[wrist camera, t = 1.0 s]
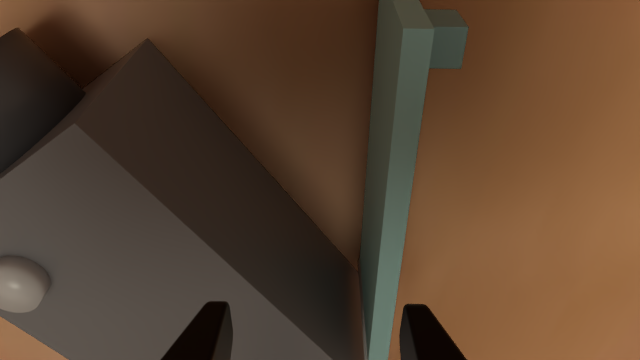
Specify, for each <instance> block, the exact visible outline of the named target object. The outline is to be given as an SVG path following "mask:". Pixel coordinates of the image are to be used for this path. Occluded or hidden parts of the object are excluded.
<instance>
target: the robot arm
mask: <svg viewBox="0 0 640 360" xmlns="http://www.w3.org/2000/svg"><path fill="white" fill-rule="evenodd" d="M232 343H233V326H232V319H231V312H230V306H229V304H228V302H225V301H209V302H207V303H205V304H204V306H203V307H202V308H201V309H200V311H199V312H198V313H197V314H196V316H195V317H194V318H193V319H192V321H191V322H190V323H189V324H188V326H187V327H186V328H185V329H184V331H183V332H182V333H181V334H180V336H179V337H178V338H177V339H176V341H175V342H174V343H173V344H172V346H171V347H170V348H169V349H168V351H167V352H166V353H165V355H164V356H163V357H162V358H161V360H231V351H232ZM400 353H401V360H467V359H466V358H465V357H464V355H463V354H462V352H461V351H460V350H459V348H458V347H457V346H456V344H455V343H454V342H453V340H452V339H451V337H450V336H449V335H448V333H447V332H446V331H445V329H444V328H443V327H442V325H441V324H440V323H439V321H438V320H437V318H436V317H435V316H434V314H433V313H432V312H431V310H430V309H429V308H428V307H427V306H426V305H424V304H406V305H405V306H404V308H403V314H402V321H401V327H400Z"/></svg>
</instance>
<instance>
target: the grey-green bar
mask: <svg viewBox="0 0 640 360" xmlns="http://www.w3.org/2000/svg"><path fill="white" fill-rule="evenodd" d="M468 28H469V27H468V25H467V24H466V23H465V21H464V20H463V19H462V17H461V16H460V14H459V13H458V12H457V10H436V9H423V7H422V5H421V3H420V1H419V0H379V6H378V20H377V33H376V47H375V60H374V73H373V87H372V100H371V114H370V127H369V141H368V154H367V168H366V181H365V194H364V208H363V221H362V235H361V248H360V258H359V259H358V275H359V289H360V303H361V317H362V331H363V345H364V359H365V360H388V354H389V347H390V340H391V333H392V326H393V318H394V311H395V304H396V297H397V290H398V283H399V276H400V269H401V262H402V255H403V248H404V241H405V234H406V227H407V220H408V213H409V205H410V198H411V191H412V184H413V177H414V170H415V163H416V156H417V149H418V142H419V135H420V128H421V121H422V114H423V107H424V100H425V92H426V85H427V78H428V71H429V68H443V69H461V67H462V61H463V55H464V50H465V44H466V39H467V33H468Z"/></svg>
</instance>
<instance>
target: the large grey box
mask: <svg viewBox="0 0 640 360" xmlns="http://www.w3.org/2000/svg"><path fill="white" fill-rule="evenodd" d="M209 301H225V302H228V304H229V306H230V312H231V319H232V326H233V343H232V351H231V360H365V359H364V345H363V331H362V317H361V303H360V289H359V275H358V272H357V271H356V270H355V268H354V267H353V266H352V265H351V264H350V263H349V262H348V261H347V260H346V258H345V257H344V256H343V255H342V254H341V253H340V252H339V251H338V250H337V248H336V247H335V246H334V245H333V244H332V243H331V242H330V241H329V240H328V238H327V237H326V236H325V235H324V234H323V233H322V232H321V231H320V230H319V228H318V227H317V226H316V225H315V224H314V223H313V222H312V221H311V220H310V218H309V217H308V216H307V215H306V214H305V213H304V212H303V211H302V210H301V208H300V207H299V206H298V205H297V204H296V203H295V202H294V201H293V200H292V198H291V197H290V196H289V195H288V194H287V193H286V192H285V191H284V190H283V188H282V187H281V186H280V185H279V184H278V183H277V182H276V181H275V180H274V178H273V177H272V176H271V175H270V174H269V173H268V172H267V171H266V170H265V168H264V167H263V166H262V165H261V164H260V163H259V162H258V161H257V160H256V158H255V157H254V156H253V155H252V154H251V153H250V152H249V151H248V149H247V148H246V147H245V146H244V145H243V144H242V143H241V142H240V141H239V139H238V138H237V137H236V136H235V135H234V134H233V133H232V132H231V131H230V129H229V128H228V127H227V126H226V125H225V124H224V123H223V122H222V121H221V119H220V118H219V117H218V116H217V115H216V114H215V113H214V112H213V111H212V109H211V108H210V107H209V106H208V105H207V104H206V103H205V102H204V101H203V99H202V98H201V97H200V96H199V95H198V94H197V93H196V92H195V91H194V89H193V88H192V87H191V86H190V85H189V84H188V83H187V82H186V81H185V79H184V78H183V77H182V76H181V75H180V74H179V73H178V72H177V71H176V69H175V68H174V67H173V66H172V65H171V64H170V63H169V62H168V61H167V59H166V58H165V57H164V56H163V55H162V54H161V53H160V52H159V51H158V49H157V48H156V47H155V46H154V45H153V44H152V43H151V42H150V41H149V39H148V38H147V39H146V40H145V41H143V42H142V43H141V44H139V45H138V46H137V47H136V48H134V49H133V50H132V51H131V52H129V53H128V54H127V55H125V56H124V57H123V58H122V59H120V60H119V61H118V62H116V63H115V64H114V65H113V66H111V67H110V68H109V69H107V70H106V71H105V72H104V73H102V74H101V75H100V76H99V77H97V78H96V79H95V80H93V81H92V82H91V83H90V84H88V85H87V86H86V87H84V88H83V89H81V88H80V87H79V86H78V85H77V84H76V83H75V82H74V81H73V80H72V79H71V78H70V77H69V76H68V75H67V74H66V73H65V72H64V71H63V70H62V69H61V68H60V67H59V66H58V65H57V64H55V63H54V62H53V61H52V60H51V59H50V58H49V57H48V56H47V55H46V54H45V53H44V52H43V51H42V50H41V49H40V48H39V47H38V46H37V45H36V44H35V43H34V42H33V41H32V40H31V39H30V38H29V37H27V36H26V35H25V34H24V33H23V32H22V31H21V30H20V29H19V28H15V29H13V30H11V31H10V32H8V33H6V34H5V35H3V36H2V37H0V316H1V317H2V318H4V319H6V320H7V321H9V322H10V323H12V324H14V325H15V326H17V327H18V328H20V329H21V330H23V331H25V332H26V333H28V334H29V335H31V336H32V337H34V338H36V339H37V340H39V341H40V342H42V343H44V344H45V345H47V346H48V347H50V348H51V349H53V350H55V351H56V352H58V353H59V354H61V355H63V356H64V357H66V358H67V359H69V360H161V358H162V357H163V356H164V355H165V353H166V352H167V351H168V349H169V348H170V347H171V346H172V344H173V343H174V342H175V341H176V339H177V338H178V337H179V336H180V334H181V333H182V332H183V331H184V329H185V328H186V327H187V326H188V324H189V323H190V322H191V321H192V319H193V318H194V317H195V316H196V314H197V313H198V312H199V311H200V309H201V308H202V307H203V306H204V304H205V303H207V302H209Z"/></svg>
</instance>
